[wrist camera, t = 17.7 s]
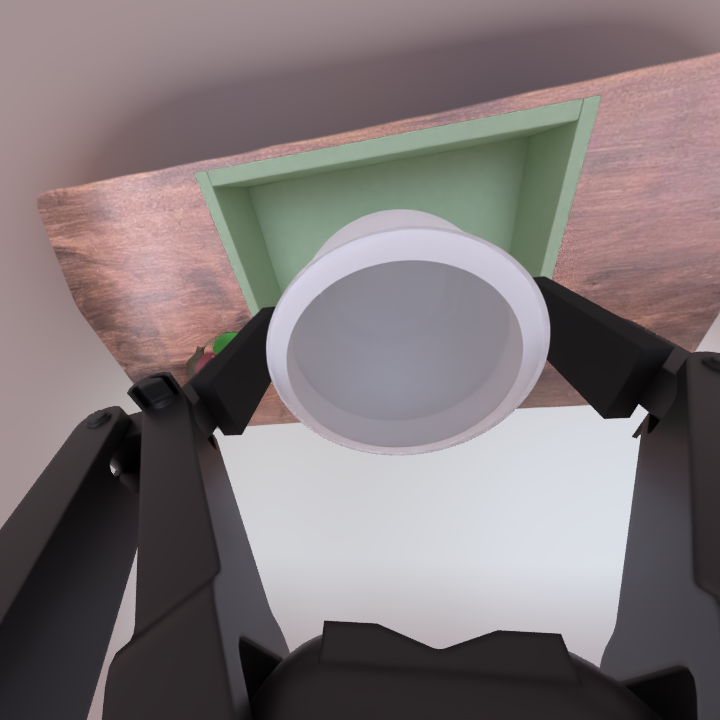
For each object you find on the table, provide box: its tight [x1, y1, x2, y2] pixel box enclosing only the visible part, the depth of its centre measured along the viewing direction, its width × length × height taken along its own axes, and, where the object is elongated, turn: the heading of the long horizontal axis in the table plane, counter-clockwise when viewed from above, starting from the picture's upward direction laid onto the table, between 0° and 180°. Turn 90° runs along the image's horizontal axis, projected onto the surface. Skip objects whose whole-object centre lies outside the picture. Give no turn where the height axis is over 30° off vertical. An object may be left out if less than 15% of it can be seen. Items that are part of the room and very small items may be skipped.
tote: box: [194, 95, 602, 318], centre depth 21 cm, size 22×17×6 cm
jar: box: [266, 209, 550, 455], centre depth 16 cm, size 11×10×15 cm
